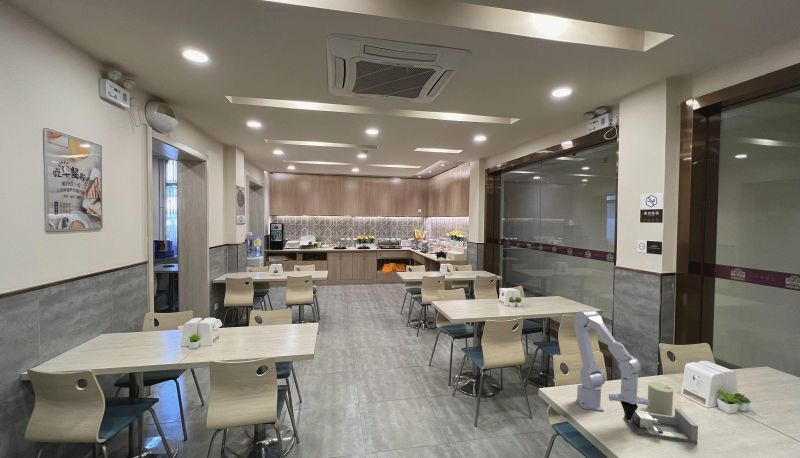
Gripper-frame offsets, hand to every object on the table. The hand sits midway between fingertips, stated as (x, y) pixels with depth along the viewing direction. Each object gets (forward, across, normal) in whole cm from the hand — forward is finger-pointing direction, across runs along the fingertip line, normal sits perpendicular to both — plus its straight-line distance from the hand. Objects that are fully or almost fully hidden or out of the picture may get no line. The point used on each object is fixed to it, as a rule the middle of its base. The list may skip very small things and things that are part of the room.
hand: (627, 418), depth 142 cm
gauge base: (+3, +12, 0) cm, 12 cm away
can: (+3, +19, +16) cm, 25 cm away
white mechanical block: (+1, +7, -2) cm, 7 cm away
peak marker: (+1, +9, -5) cm, 11 cm away
